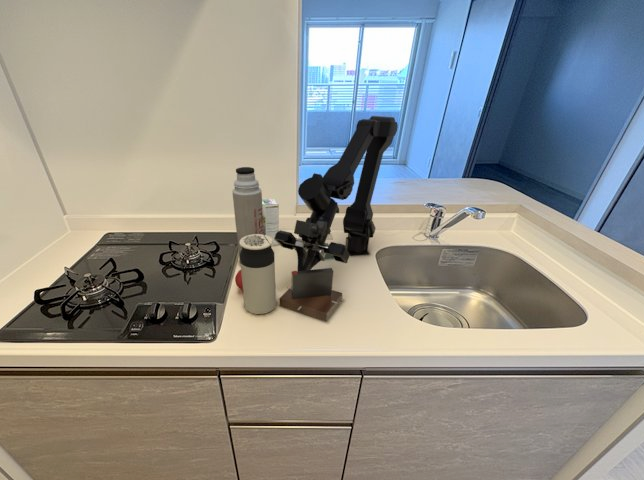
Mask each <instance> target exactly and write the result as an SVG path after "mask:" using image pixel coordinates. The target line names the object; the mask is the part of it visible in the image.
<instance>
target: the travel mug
mask: <svg viewBox="0 0 644 480" xmlns="http://www.w3.org/2000/svg"><path fill="white" fill-rule="evenodd" d="M239 243H240V245H241V247H242V250H241V252H240V261H239V265H240V264H241V265H240V270H241V274H242V284H243V290H242V292H243V293H242V294H243V304H244V308H245V310H246V311H247V312H249V313H251V314H255V315H264V314H268V313H270V312H272V311H273V310H274V309H275V308H276V306H277V296H276V294H277V293H276V292H277V291H276V263H275V259H276V258H275V251H274V250H273V248H272V246H273V245H272V243H273V240H272V238H271V237H269V236H267V235H262V234H253V235H248V236H245V237H243V238H242V239H241V240H240V242H239Z"/></svg>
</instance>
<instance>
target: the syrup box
mask: <svg viewBox="0 0 644 480" xmlns="http://www.w3.org/2000/svg"><path fill="white" fill-rule="evenodd" d="M279 205H280V203H278V201H277V200H276V199H275V198H262V210H263V230H264V235H267V236H269V237H271V238H272V240H273V243H272V245H271V246H277V245H279V244H278V243H277V242H276V241H275V240H274V237H275V235H276V233H277V232H278V231H280V210H279V209H280V206H279Z"/></svg>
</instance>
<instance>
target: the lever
mask: <svg viewBox="0 0 644 480" xmlns="http://www.w3.org/2000/svg"><path fill="white" fill-rule="evenodd" d="M333 278H334V270H333V267H327V268H317V269H311V270H304V271H298V270H292V271H291V286H290V287H291V296H292V299H298V298H307V297H316V296H325V295H331V291H332V290H333Z"/></svg>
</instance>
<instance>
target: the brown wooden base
mask: <svg viewBox="0 0 644 480" xmlns="http://www.w3.org/2000/svg"><path fill="white" fill-rule="evenodd" d="M286 289H287V290H286V291H285V292H284V293H283V294H282V295H281V296H280V297H279V298H278V299H279V302H278V303H279V307H281V308H284V309H287V310H290V311H293V312H296V313H299V314H302V315H305V316H308V317H311V318H314V319H317V320H320V321H322V322H327V321H328V320H329V319H330V317H331V316H332V315H333V313H334V312H335V310H336V309H337V308H338V307H339V305H340V304H341V303H342V301H343V292H341V291H337V290H334V289H332V291H331V295H325V296H316V297H307V298H298V299H292V296H291V286H290V287H289V286H288V287H286Z"/></svg>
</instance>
